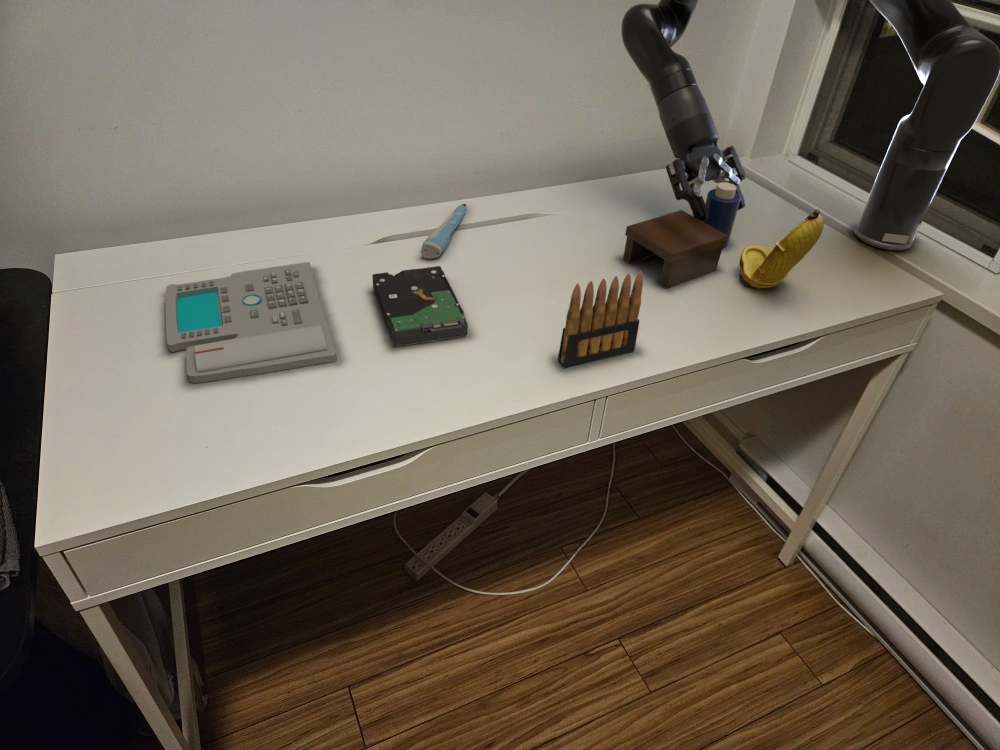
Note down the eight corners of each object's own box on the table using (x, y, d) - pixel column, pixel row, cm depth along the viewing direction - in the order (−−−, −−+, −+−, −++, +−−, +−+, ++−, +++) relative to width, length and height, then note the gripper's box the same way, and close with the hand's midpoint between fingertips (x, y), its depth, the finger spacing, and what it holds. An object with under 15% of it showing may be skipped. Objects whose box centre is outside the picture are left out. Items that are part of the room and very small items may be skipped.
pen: (439, 262, 108) (439, 246, 106) (419, 258, 108) (419, 242, 107) (472, 209, 123) (473, 194, 121) (455, 206, 123) (455, 191, 121)
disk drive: (371, 290, 101) (393, 349, 90) (370, 273, 99) (392, 331, 89) (440, 280, 104) (469, 336, 93) (440, 264, 102) (469, 319, 92)
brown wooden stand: (673, 242, 117) (681, 209, 113) (718, 269, 110) (728, 235, 107) (620, 260, 111) (626, 226, 107) (664, 289, 105) (672, 254, 101)
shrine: (811, 301, 104) (848, 209, 95) (766, 309, 102) (798, 215, 93) (766, 263, 113) (796, 175, 103) (723, 269, 110) (749, 180, 101)
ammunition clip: (627, 343, 94) (643, 266, 86) (634, 351, 93) (651, 273, 85) (557, 360, 90) (567, 281, 83) (563, 368, 89) (574, 289, 81)
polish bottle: (711, 231, 120) (725, 177, 114) (734, 244, 117) (750, 189, 111) (689, 238, 118) (703, 183, 112) (712, 252, 115) (728, 195, 108)
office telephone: (337, 345, 86) (163, 375, 80) (339, 361, 88) (169, 392, 82) (308, 253, 103) (162, 273, 97) (310, 269, 105) (167, 289, 98)
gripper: (670, 117, 107) (707, 215, 107) (733, 104, 114) (768, 196, 114) (641, 140, 114) (676, 232, 114) (701, 126, 120) (735, 213, 120)
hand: (722, 214), depth 114 cm, fingers open, 8 cm apart
